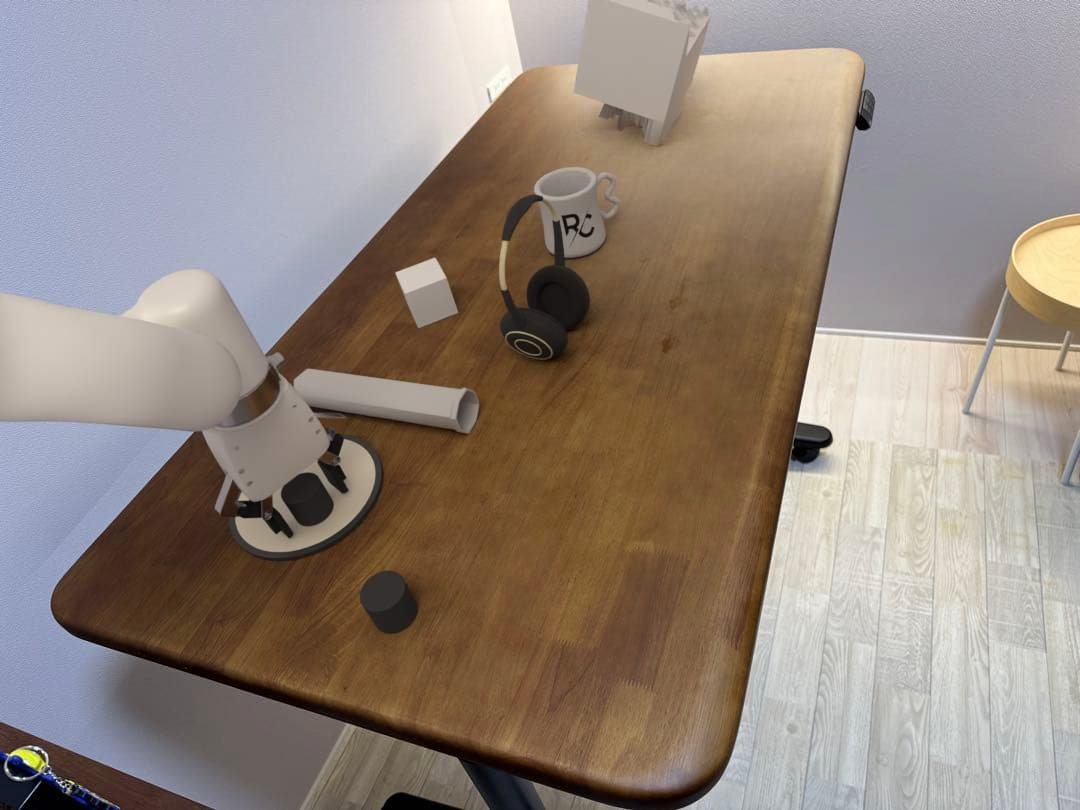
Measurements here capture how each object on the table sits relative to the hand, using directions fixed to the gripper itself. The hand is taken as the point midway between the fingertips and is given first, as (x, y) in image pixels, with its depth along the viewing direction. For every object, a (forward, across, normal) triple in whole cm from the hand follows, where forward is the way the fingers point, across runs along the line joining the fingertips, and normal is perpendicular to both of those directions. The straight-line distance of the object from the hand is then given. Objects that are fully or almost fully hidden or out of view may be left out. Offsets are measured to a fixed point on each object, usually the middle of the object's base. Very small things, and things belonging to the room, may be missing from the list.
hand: (312, 507), depth 86 cm
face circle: (+1, -1, -4) cm, 4 cm away
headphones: (+1, -36, +2) cm, 36 cm away
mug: (+1, -56, -10) cm, 57 cm away
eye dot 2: (+1, +2, +18) cm, 18 cm away
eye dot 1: (+1, 0, 0) cm, 1 cm away
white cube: (+1, -32, -18) cm, 36 cm away
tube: (+1, -15, -6) cm, 16 cm away
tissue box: (+2, -88, -22) cm, 91 cm away
